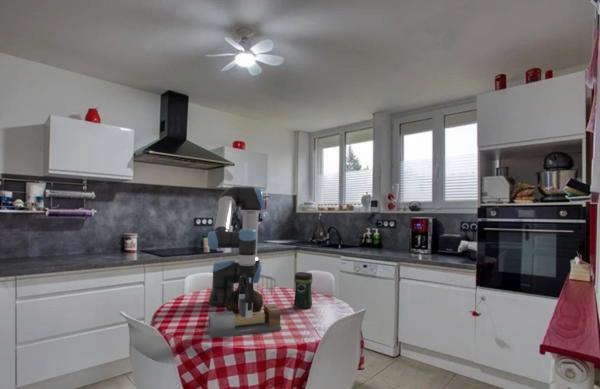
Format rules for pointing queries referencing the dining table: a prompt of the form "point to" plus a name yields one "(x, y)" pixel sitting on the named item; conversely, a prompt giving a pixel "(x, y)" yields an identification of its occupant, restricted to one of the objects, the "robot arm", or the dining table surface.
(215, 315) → the steel sleeve
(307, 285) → the coffee jar
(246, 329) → the base board
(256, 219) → the robot arm
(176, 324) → the dining table surface
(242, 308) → the tan slab
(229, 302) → the glass bottle
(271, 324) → the walnut socket
